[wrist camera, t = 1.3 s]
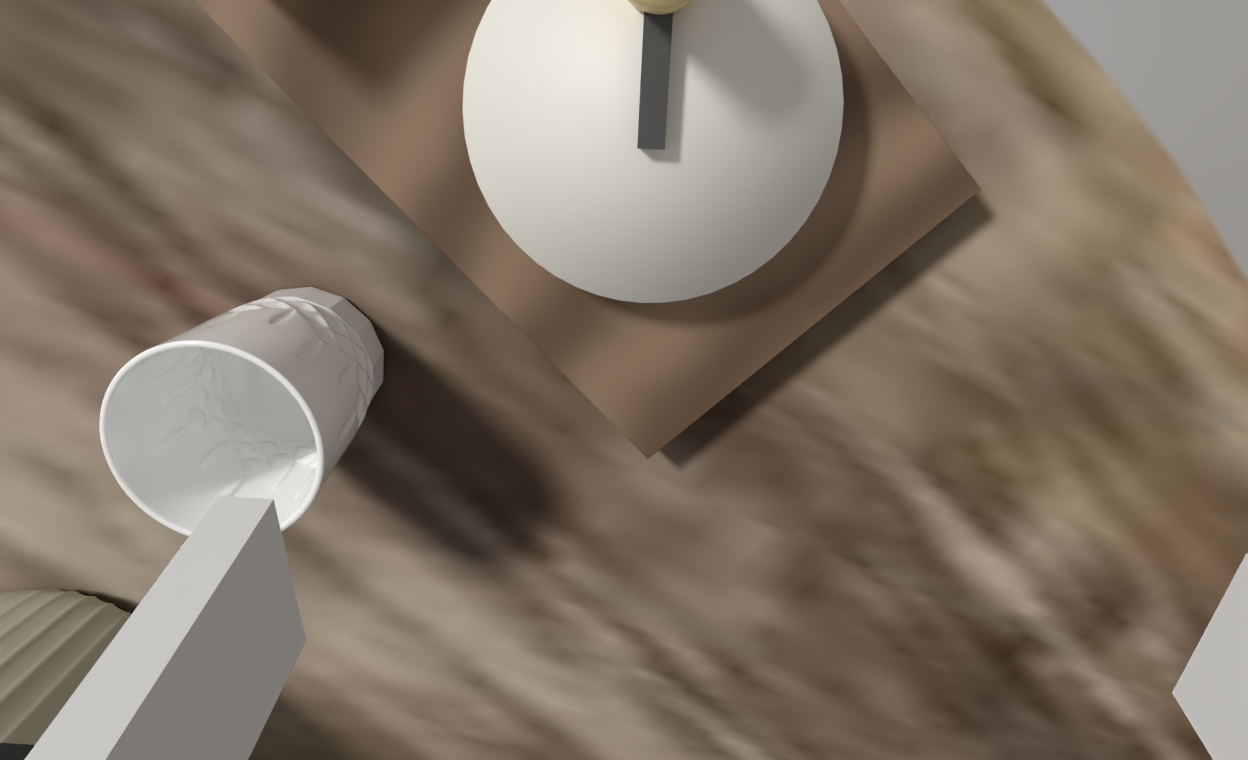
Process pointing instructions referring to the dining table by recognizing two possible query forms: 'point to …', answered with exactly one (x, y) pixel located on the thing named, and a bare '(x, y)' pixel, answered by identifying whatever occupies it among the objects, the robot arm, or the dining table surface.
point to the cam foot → (652, 135)
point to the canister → (47, 654)
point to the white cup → (243, 407)
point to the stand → (550, 307)
